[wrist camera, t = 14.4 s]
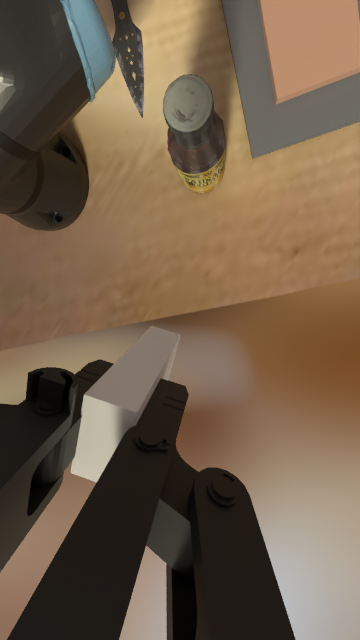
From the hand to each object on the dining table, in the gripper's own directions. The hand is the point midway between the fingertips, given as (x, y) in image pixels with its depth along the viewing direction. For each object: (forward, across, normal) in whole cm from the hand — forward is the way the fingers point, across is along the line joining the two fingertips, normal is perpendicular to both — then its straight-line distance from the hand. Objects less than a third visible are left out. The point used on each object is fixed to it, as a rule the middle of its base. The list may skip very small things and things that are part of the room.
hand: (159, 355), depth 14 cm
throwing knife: (+33, -20, +29) cm, 48 cm away
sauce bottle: (+33, -5, +15) cm, 36 cm away
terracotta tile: (+31, +6, +27) cm, 41 cm away
